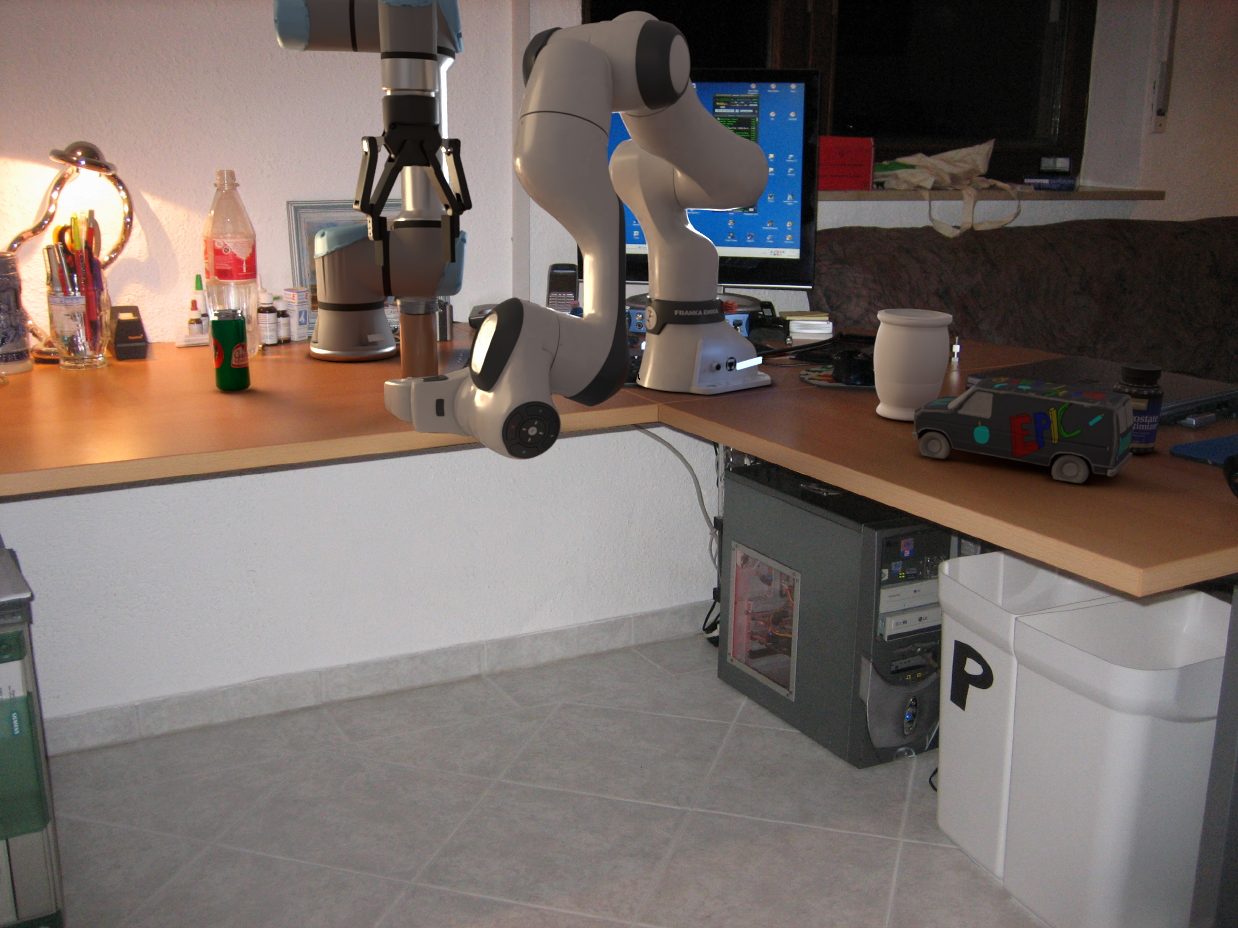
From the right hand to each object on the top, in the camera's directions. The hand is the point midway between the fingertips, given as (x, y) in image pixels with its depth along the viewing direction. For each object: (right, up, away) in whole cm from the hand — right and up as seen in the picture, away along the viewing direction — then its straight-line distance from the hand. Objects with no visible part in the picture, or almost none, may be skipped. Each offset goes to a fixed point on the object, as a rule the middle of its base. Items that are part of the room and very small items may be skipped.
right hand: (445, 379), depth 144 cm
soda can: (-36, 0, +20) cm, 41 cm away
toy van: (+73, -11, -11) cm, 75 cm away
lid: (-5, +12, +7) cm, 14 cm away
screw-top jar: (-5, -3, +11) cm, 13 cm away
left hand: (-5, +17, +5) cm, 18 cm away
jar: (+65, -4, +12) cm, 67 cm away
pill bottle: (+91, -10, -4) cm, 91 cm away
